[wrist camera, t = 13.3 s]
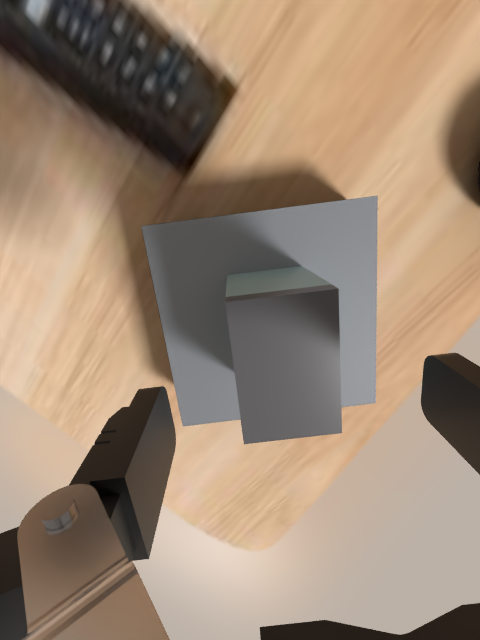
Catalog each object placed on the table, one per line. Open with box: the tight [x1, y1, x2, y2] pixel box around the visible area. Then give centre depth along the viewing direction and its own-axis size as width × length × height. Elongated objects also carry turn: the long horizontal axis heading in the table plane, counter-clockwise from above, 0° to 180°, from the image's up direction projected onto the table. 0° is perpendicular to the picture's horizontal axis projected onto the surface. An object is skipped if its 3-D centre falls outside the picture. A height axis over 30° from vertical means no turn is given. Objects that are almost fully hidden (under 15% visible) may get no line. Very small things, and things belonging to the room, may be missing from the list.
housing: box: [225, 266, 342, 444], centre depth 15 cm, size 6×4×6 cm, turn 7°
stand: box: [141, 196, 377, 426], centre depth 19 cm, size 12×12×4 cm
